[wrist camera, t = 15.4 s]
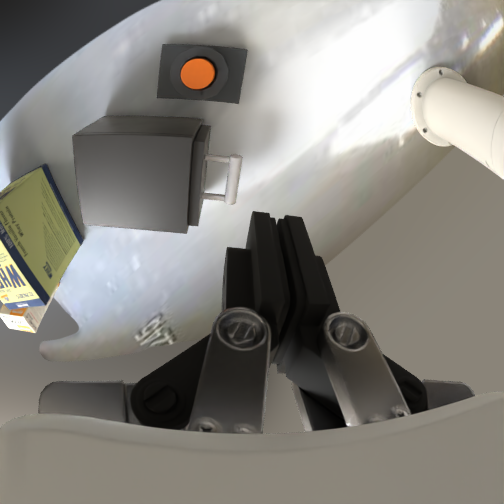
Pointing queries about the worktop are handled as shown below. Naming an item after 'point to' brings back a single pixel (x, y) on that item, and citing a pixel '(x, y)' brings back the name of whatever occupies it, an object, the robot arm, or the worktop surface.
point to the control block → (225, 80)
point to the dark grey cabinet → (136, 171)
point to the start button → (197, 73)
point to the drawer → (199, 175)
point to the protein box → (34, 240)
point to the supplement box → (25, 316)
